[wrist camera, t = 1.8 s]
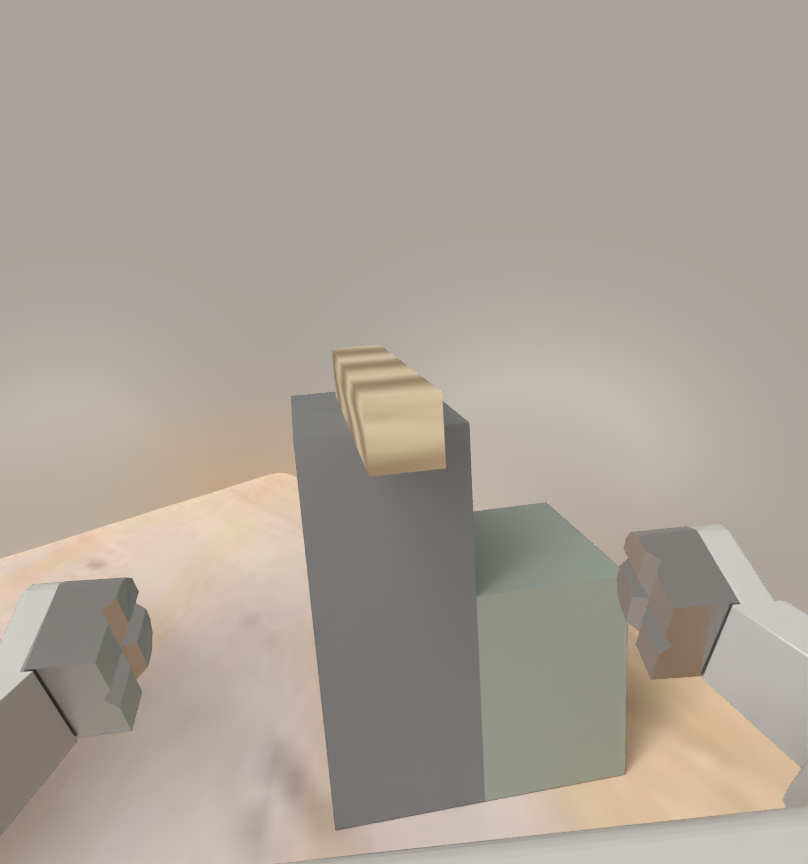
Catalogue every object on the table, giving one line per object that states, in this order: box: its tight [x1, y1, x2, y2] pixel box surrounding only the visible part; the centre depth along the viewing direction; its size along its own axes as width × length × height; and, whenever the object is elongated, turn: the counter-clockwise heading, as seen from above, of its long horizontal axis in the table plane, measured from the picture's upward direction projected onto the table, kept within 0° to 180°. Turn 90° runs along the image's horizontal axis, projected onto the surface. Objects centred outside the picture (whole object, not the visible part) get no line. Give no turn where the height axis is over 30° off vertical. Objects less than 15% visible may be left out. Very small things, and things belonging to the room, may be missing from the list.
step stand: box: [291, 392, 628, 830], centre depth 48 cm, size 14×20×26 cm
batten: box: [332, 345, 446, 477], centre depth 39 cm, size 20×4×4 cm, turn 10°
